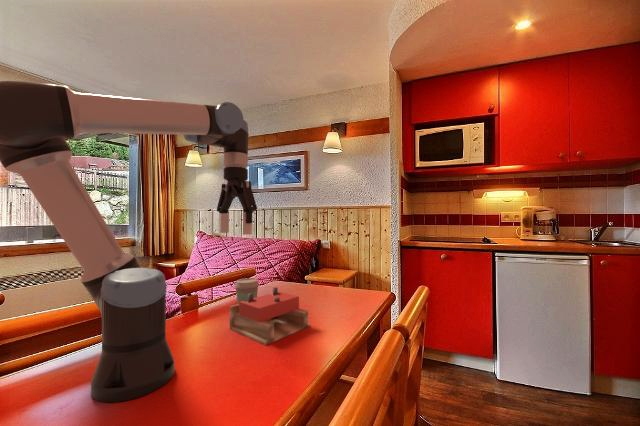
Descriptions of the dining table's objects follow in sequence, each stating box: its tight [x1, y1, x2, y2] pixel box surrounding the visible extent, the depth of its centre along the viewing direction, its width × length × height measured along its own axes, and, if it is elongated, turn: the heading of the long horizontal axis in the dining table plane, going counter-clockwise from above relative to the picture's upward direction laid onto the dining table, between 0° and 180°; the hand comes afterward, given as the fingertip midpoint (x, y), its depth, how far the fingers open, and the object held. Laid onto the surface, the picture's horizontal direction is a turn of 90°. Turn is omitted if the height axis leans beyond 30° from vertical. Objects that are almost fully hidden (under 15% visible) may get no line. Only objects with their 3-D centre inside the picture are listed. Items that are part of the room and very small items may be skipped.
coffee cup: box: [234, 277, 260, 304], centre depth 105 cm, size 8×8×12 cm
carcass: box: [229, 286, 311, 346], centre depth 92 cm, size 18×18×11 cm
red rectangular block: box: [239, 291, 300, 322], centre depth 92 cm, size 16×10×5 cm, turn 139°
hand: (235, 233), depth 93 cm, fingers open, 13 cm apart
